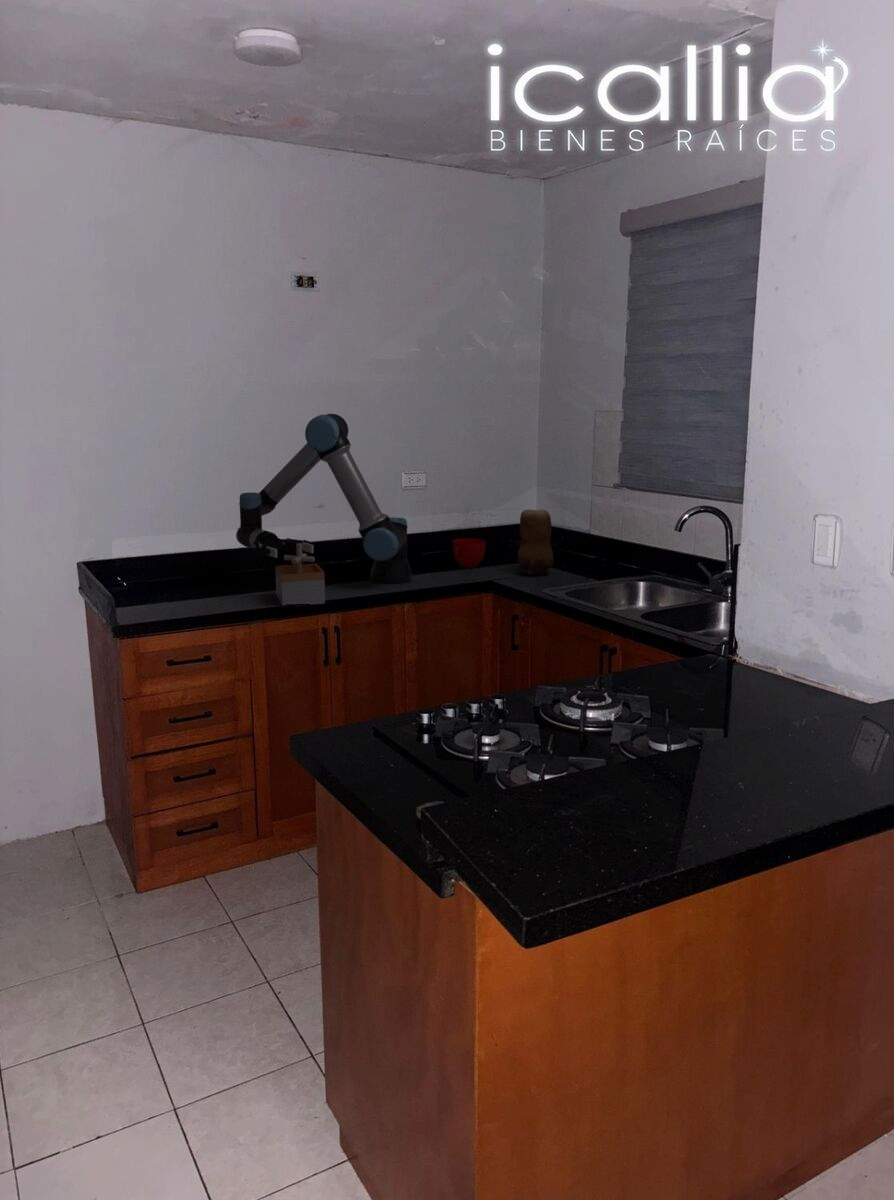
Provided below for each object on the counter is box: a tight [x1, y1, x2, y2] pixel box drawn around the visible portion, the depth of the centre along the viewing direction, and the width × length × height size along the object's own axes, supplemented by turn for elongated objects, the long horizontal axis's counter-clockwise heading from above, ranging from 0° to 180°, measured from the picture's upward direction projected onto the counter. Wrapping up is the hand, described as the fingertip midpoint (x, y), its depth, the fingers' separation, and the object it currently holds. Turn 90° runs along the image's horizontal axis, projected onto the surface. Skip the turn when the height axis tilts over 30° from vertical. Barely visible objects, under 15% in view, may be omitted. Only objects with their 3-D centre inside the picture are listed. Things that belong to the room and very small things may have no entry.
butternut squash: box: [517, 508, 555, 576], centre depth 354 cm, size 14×13×25 cm
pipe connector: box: [283, 543, 316, 573], centre depth 310 cm, size 10×10×10 cm
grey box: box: [275, 563, 326, 606], centre depth 312 cm, size 14×14×10 cm
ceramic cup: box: [452, 537, 487, 569], centre depth 367 cm, size 13×17×10 cm
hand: (294, 551), depth 311 cm, fingers open, 13 cm apart
